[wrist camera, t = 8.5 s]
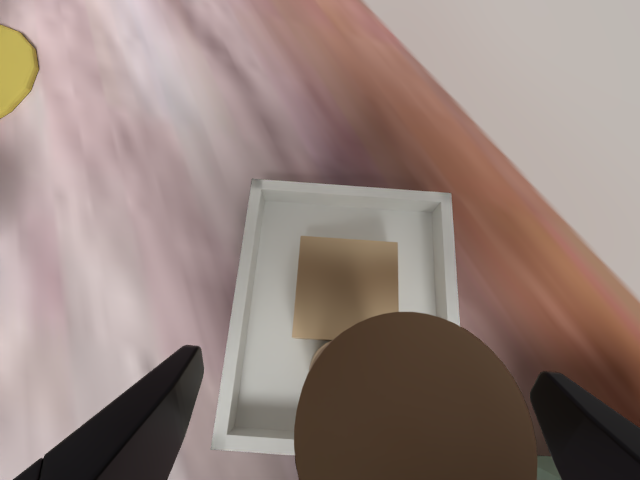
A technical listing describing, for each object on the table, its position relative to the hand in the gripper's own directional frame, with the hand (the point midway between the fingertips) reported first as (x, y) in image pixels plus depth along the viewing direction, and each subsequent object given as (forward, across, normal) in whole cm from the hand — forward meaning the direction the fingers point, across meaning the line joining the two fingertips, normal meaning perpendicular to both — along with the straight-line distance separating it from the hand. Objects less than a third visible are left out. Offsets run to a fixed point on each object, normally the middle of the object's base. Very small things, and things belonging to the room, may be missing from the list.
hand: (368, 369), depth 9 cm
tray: (+9, 0, +5) cm, 10 cm away
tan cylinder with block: (+7, 0, +5) cm, 9 cm away
